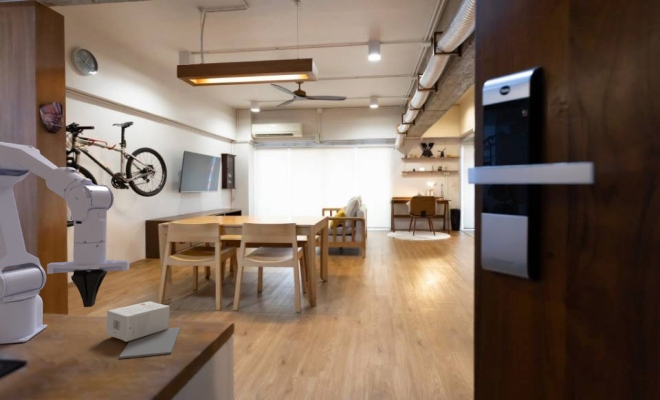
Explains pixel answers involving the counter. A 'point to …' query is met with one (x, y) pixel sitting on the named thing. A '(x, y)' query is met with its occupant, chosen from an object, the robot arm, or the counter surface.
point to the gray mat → (152, 344)
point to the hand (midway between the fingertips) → (89, 305)
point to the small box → (137, 320)
